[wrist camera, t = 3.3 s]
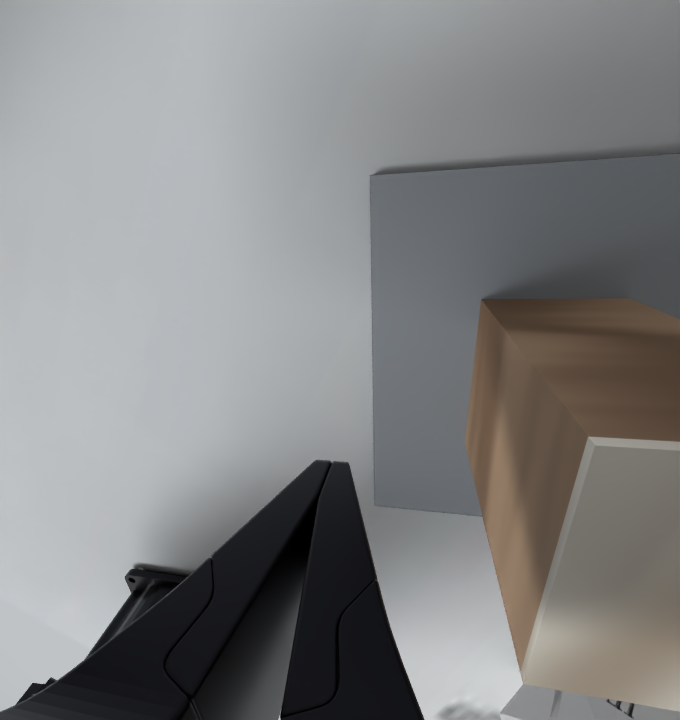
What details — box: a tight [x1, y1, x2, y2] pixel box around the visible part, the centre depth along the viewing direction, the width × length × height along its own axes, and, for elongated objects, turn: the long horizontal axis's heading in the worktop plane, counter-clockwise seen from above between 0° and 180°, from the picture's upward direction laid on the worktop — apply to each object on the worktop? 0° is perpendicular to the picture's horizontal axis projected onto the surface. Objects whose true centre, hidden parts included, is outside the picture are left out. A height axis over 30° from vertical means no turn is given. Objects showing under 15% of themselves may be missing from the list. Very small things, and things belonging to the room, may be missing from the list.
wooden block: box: [465, 298, 680, 712], centre depth 9 cm, size 4×6×8 cm
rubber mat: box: [370, 154, 680, 517], centre depth 12 cm, size 17×14×1 cm
